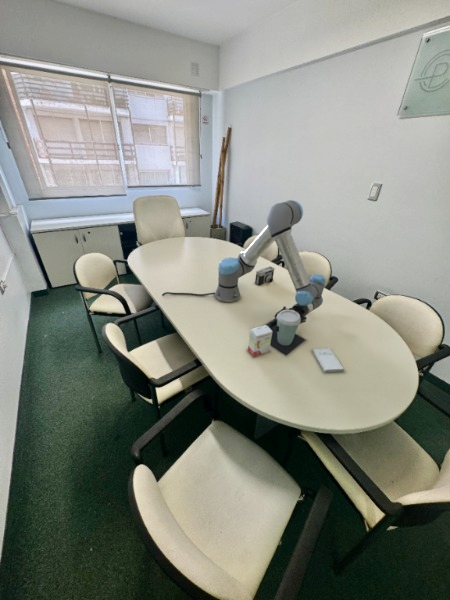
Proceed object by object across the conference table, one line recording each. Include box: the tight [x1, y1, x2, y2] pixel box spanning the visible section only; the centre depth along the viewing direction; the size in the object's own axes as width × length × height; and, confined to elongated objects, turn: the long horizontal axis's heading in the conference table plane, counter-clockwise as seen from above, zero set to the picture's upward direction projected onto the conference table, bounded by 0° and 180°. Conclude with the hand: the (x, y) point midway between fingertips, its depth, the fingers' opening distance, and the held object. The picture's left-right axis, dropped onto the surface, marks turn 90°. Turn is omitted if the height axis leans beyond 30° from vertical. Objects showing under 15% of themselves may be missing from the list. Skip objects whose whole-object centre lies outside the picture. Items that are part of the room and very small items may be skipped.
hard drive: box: [312, 347, 345, 373], centre depth 104 cm, size 2×8×12 cm
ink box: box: [247, 324, 273, 358], centre depth 105 cm, size 9×5×12 cm, turn 116°
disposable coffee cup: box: [277, 310, 301, 345], centre depth 111 cm, size 11×11×15 cm
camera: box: [254, 266, 275, 287], centre depth 164 cm, size 14×8×10 cm, turn 130°
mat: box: [265, 320, 306, 356], centre depth 117 cm, size 20×16×1 cm
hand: (274, 327), depth 110 cm, fingers closed on disposable coffee cup, 3 cm apart
